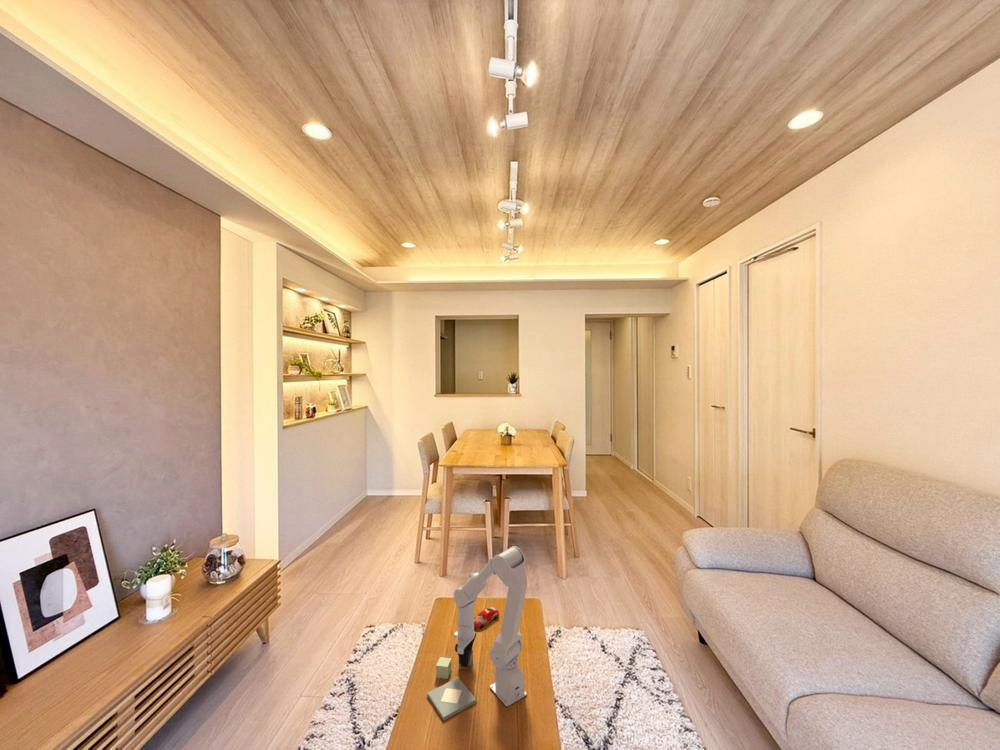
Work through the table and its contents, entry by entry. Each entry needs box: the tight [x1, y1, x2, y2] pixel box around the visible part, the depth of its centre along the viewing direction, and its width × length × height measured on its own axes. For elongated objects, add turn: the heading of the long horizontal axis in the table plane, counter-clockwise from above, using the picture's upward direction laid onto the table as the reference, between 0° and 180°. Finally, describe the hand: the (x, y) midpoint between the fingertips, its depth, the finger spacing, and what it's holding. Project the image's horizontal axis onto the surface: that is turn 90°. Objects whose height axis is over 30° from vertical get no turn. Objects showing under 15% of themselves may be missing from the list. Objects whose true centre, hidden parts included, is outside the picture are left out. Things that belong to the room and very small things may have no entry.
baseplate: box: [426, 677, 477, 721], centre depth 121 cm, size 11×11×1 cm
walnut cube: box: [458, 649, 474, 671], centre depth 136 cm, size 4×4×4 cm
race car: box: [474, 606, 500, 630], centre depth 161 cm, size 13×5×4 cm, turn 135°
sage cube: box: [435, 656, 452, 680], centre depth 132 cm, size 4×4×4 cm
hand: (465, 661), depth 136 cm, fingers closed on walnut cube, 4 cm apart
